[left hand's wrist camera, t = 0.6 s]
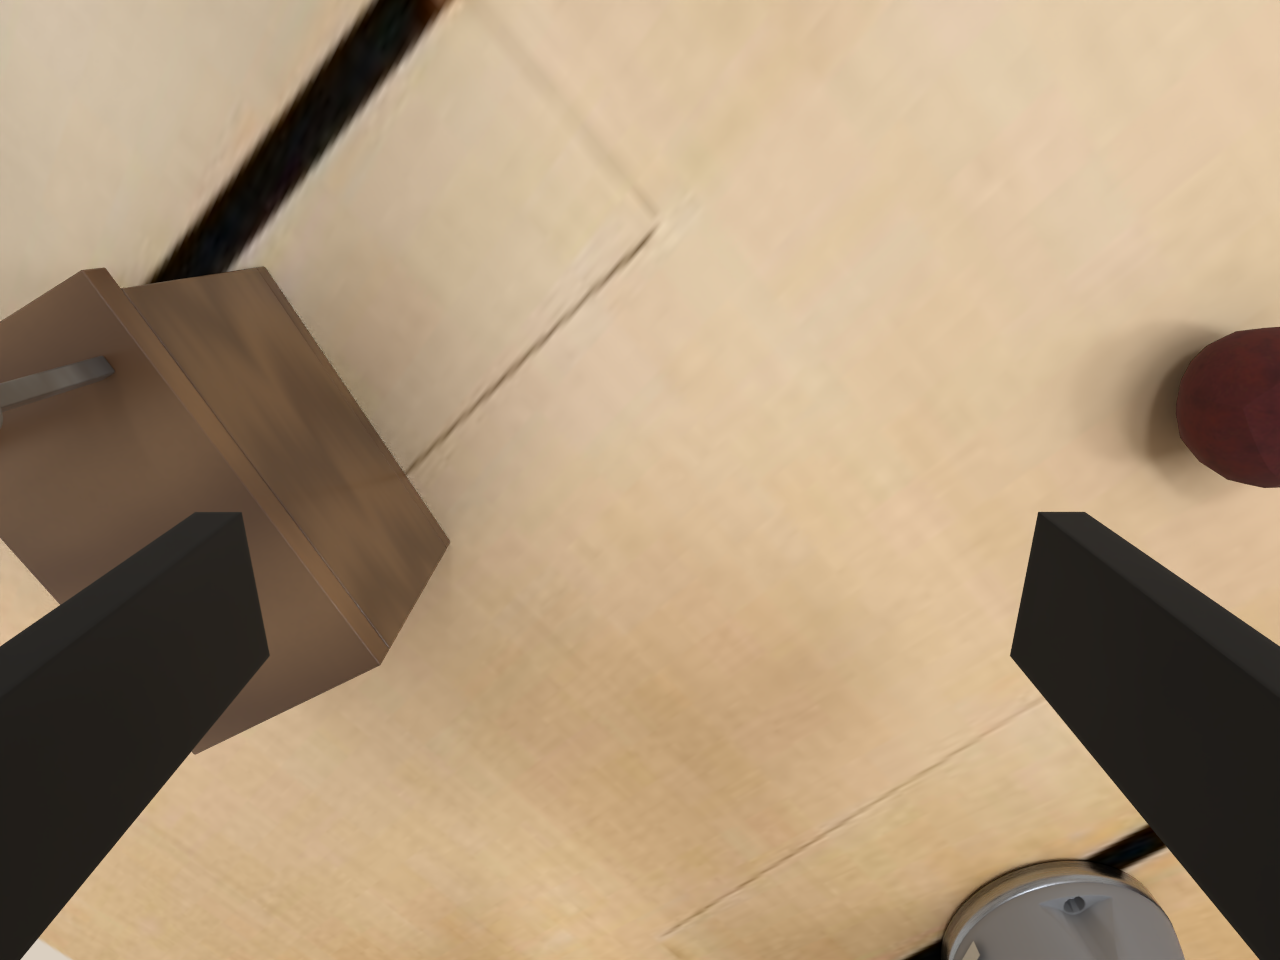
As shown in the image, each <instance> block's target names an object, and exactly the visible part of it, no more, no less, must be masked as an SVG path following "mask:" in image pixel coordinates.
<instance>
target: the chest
mask: <svg viewBox="0 0 1280 960" xmlns="http://www.w3.org/2000/svg"><path fill="white" fill-rule="evenodd" d="M121 290H122V291H123V293H124V294H125V295H126V297H127V298H128V299H129V301H130V302H131V303H132V305H133V306H134V307H135V309H136V310H137V311H138V313H139V314H140V315H141V317H142V318H143V319H144V321H145V322H146V323H147V325H148V326H149V327H150V329H151V330H152V331H153V333H154V334H155V336H156V337H157V338H158V340H159V341H160V342H161V344H162V345H163V346H164V348H165V349H166V350H167V352H168V353H169V354H170V356H171V357H172V358H173V360H174V361H175V362H176V364H177V365H178V366H179V368H180V369H181V370H182V372H183V373H184V374H185V376H186V377H187V378H188V380H189V381H190V383H191V384H192V385H193V387H194V388H195V389H196V391H197V392H198V393H199V395H200V396H201V397H202V399H203V400H204V401H205V403H206V404H207V405H208V407H209V408H210V409H211V411H212V412H213V413H214V415H215V416H216V417H217V419H218V420H219V421H220V423H221V424H222V426H223V427H224V428H225V430H226V431H227V432H228V434H229V435H230V436H231V438H232V439H233V440H234V442H235V443H236V444H237V446H238V447H239V448H240V450H241V451H242V452H243V454H244V455H245V456H246V458H247V459H248V460H249V462H250V463H251V464H252V466H253V467H254V469H255V470H256V471H257V473H258V474H259V475H260V477H261V478H262V479H263V481H264V482H265V483H266V485H267V486H268V487H269V489H270V490H271V491H272V493H273V494H274V495H275V497H276V498H277V499H278V501H279V502H280V503H281V505H282V506H283V507H284V509H285V510H286V511H287V513H288V514H289V516H290V517H291V518H292V520H293V521H294V522H295V524H296V525H297V526H298V528H299V529H300V530H301V532H302V533H303V534H304V536H305V537H306V538H307V540H308V541H309V542H310V544H311V545H312V546H313V548H314V549H315V550H316V552H317V553H318V554H319V556H320V557H321V559H322V560H323V561H324V563H325V564H326V565H327V567H328V568H329V569H330V571H331V572H332V573H333V575H334V576H335V577H336V579H337V580H338V581H339V583H340V584H341V585H342V587H343V588H344V589H345V591H346V592H347V593H348V595H349V596H350V597H351V599H352V600H353V602H354V603H355V604H356V606H357V607H358V608H359V610H360V611H361V612H362V614H363V615H364V616H365V618H366V619H367V620H368V622H369V623H370V624H371V626H372V627H373V628H374V630H375V631H376V632H377V634H378V635H379V636H380V638H381V639H382V640H383V642H384V643H385V644H386V646H387V647H388V649H390V647H391V645H392V644H393V642H394V640H395V638H396V637H397V635H398V633H399V631H400V630H401V628H402V626H403V624H404V623H405V621H406V619H407V617H408V616H409V614H410V612H411V610H412V609H413V607H414V605H415V603H416V601H417V600H418V598H419V596H420V594H421V593H422V591H423V589H424V587H425V586H426V584H427V582H428V580H429V579H430V577H431V575H432V573H433V572H434V570H435V568H436V566H437V565H438V563H439V561H440V559H441V558H442V556H443V554H444V552H445V551H446V548H447V547H448V545H449V543H450V541H449V539H448V538H447V536H446V535H445V533H444V532H443V530H442V529H441V527H440V526H439V524H438V523H437V522H436V520H435V519H434V517H433V516H432V514H431V513H430V511H429V510H428V508H427V507H426V505H425V504H424V502H423V501H422V499H421V498H420V496H419V495H418V493H417V492H416V490H415V489H414V487H413V486H412V484H411V483H410V481H409V480H408V479H407V477H406V476H405V474H404V473H403V471H402V470H401V468H400V467H399V465H398V464H397V462H396V461H395V459H394V458H393V456H392V455H391V453H390V452H389V450H388V449H387V447H386V446H385V444H384V443H383V441H382V440H381V439H380V437H379V436H378V434H377V433H376V431H375V430H374V428H373V427H372V425H371V424H370V422H369V421H368V419H367V418H366V416H365V415H364V413H363V412H362V410H361V409H360V407H359V406H358V404H357V403H356V401H355V400H354V398H353V397H352V396H351V394H350V393H349V391H348V390H347V388H346V387H345V385H344V384H343V382H342V381H341V379H340V378H339V376H338V375H337V373H336V372H335V370H334V369H333V367H332V366H331V364H330V363H329V361H328V360H327V358H326V357H325V355H324V354H323V353H322V351H321V350H320V348H319V347H318V345H317V344H316V342H315V341H314V339H313V338H312V336H311V335H310V333H309V332H308V330H307V329H306V327H305V326H304V324H303V323H302V321H301V320H300V318H299V317H298V315H297V314H296V313H295V311H294V310H293V308H292V307H291V305H290V304H289V302H288V301H287V299H286V298H285V296H284V295H283V293H282V292H281V290H280V289H279V287H278V286H277V284H276V283H275V281H274V280H273V278H272V277H271V275H270V274H269V272H268V271H267V270H266V268H265V267H258V268H250V269H244V270H237V271H231V272H224V273H218V274H212V275H205V276H199V277H192V278H186V279H179V280H173V281H166V282H160V283H153V284H147V285H141V286H134V287H128V288H122V289H121Z"/></svg>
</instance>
